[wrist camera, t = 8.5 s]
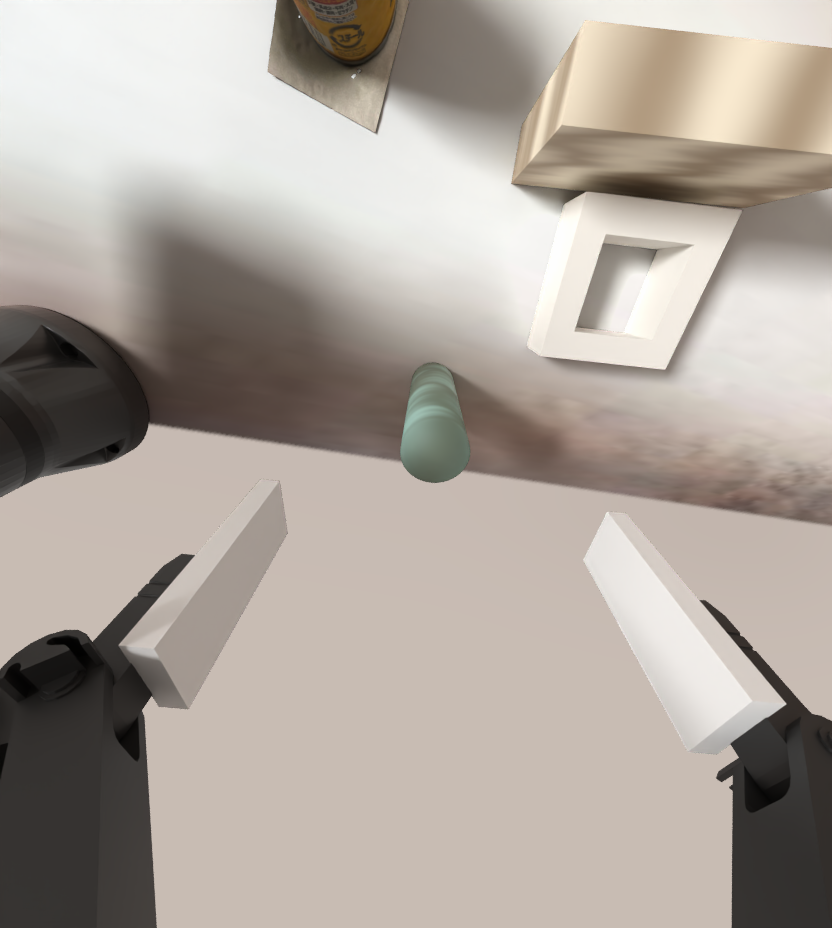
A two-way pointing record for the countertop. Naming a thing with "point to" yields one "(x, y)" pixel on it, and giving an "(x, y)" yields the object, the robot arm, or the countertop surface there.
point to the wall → (682, 118)
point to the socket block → (663, 293)
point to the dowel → (434, 427)
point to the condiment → (338, 52)
